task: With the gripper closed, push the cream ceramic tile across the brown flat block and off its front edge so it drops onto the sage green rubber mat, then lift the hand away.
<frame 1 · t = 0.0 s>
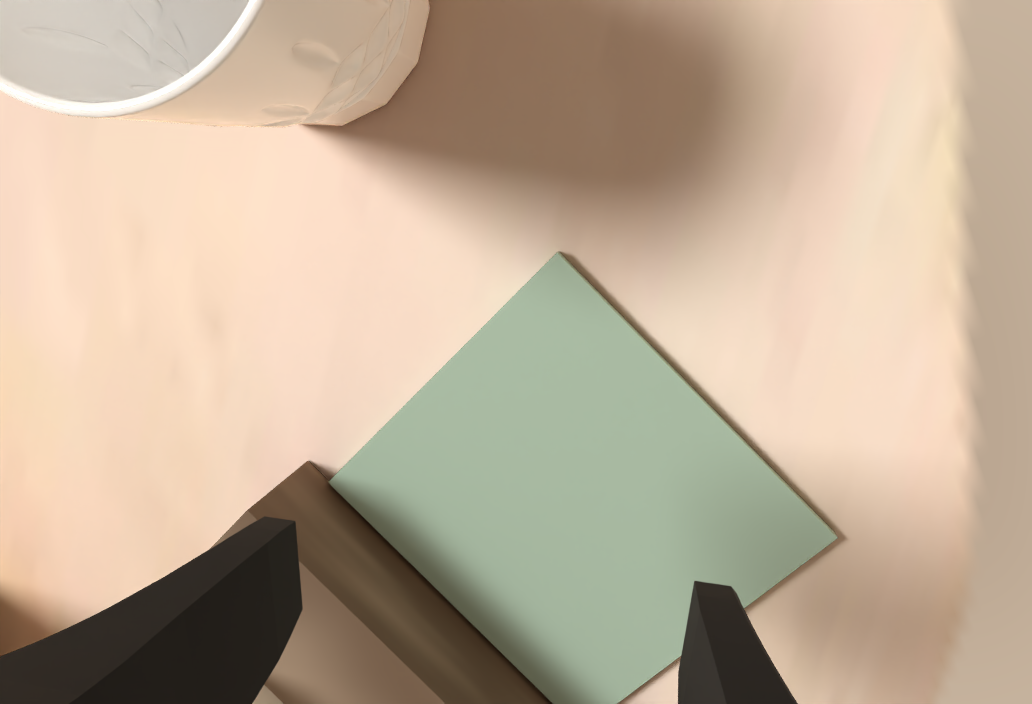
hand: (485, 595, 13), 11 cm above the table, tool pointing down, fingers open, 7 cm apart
mat: (570, 503, 24), on the table
white cup: (323, 10, 22), on the table
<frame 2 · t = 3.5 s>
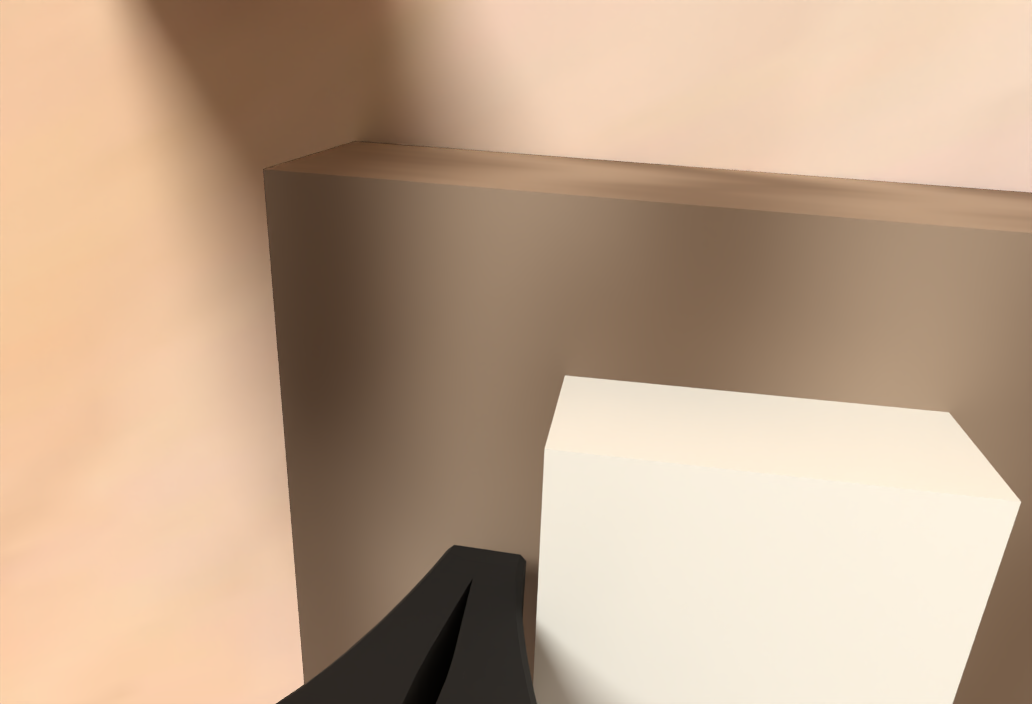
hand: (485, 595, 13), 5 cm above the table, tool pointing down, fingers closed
tile: (722, 641, 12), point 5 cm above the table, touching brown flat block, gripper
brown flat block: (645, 507, 18), on the table
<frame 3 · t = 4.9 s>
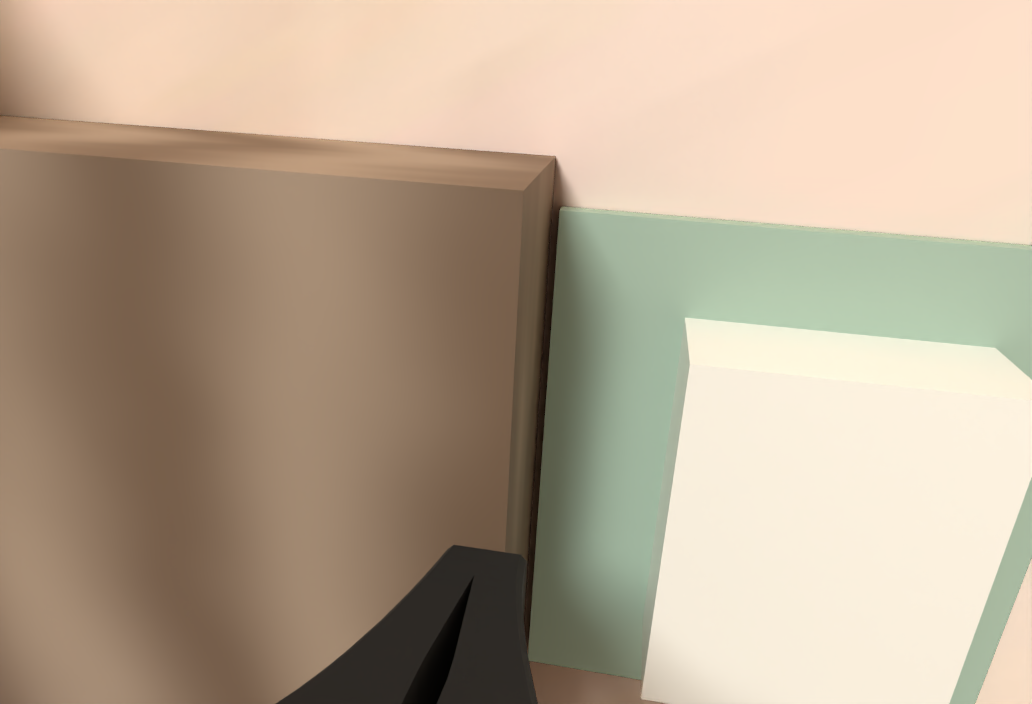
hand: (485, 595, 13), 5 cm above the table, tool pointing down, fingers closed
tile: (808, 532, 15), point 2 cm above the table, tilted 180°, touching mat
brown flat block: (265, 454, 19), on the table
mat: (777, 487, 17), on the table
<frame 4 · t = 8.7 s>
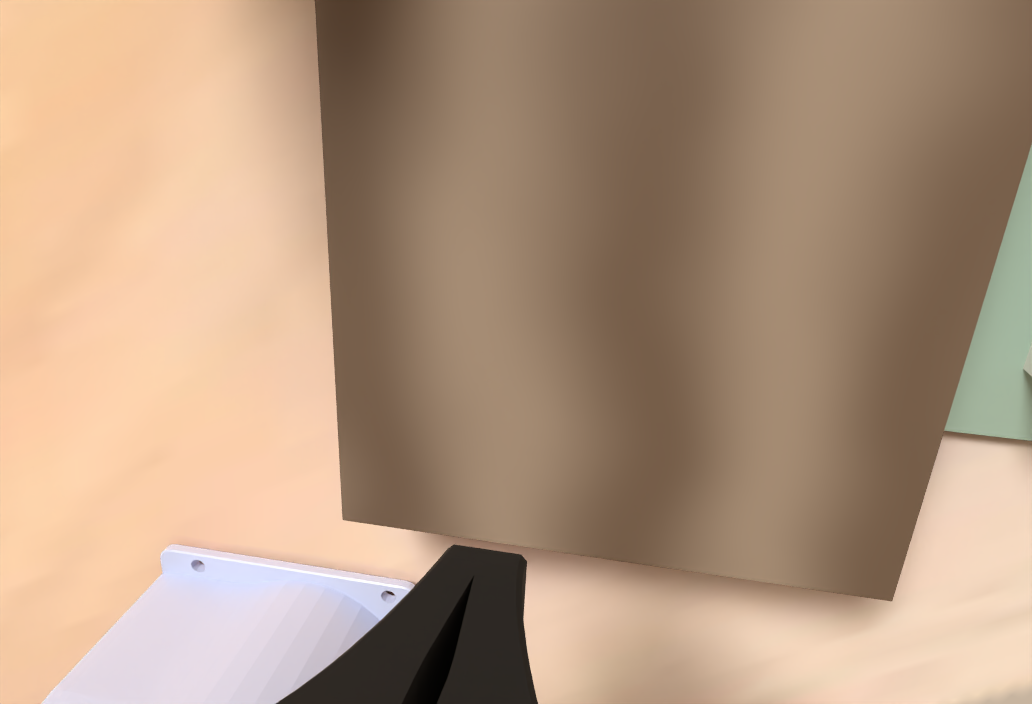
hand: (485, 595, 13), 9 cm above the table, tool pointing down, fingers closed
brown flat block: (640, 215, 20), on the table
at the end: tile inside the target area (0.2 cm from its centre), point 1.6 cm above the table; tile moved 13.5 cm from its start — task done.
